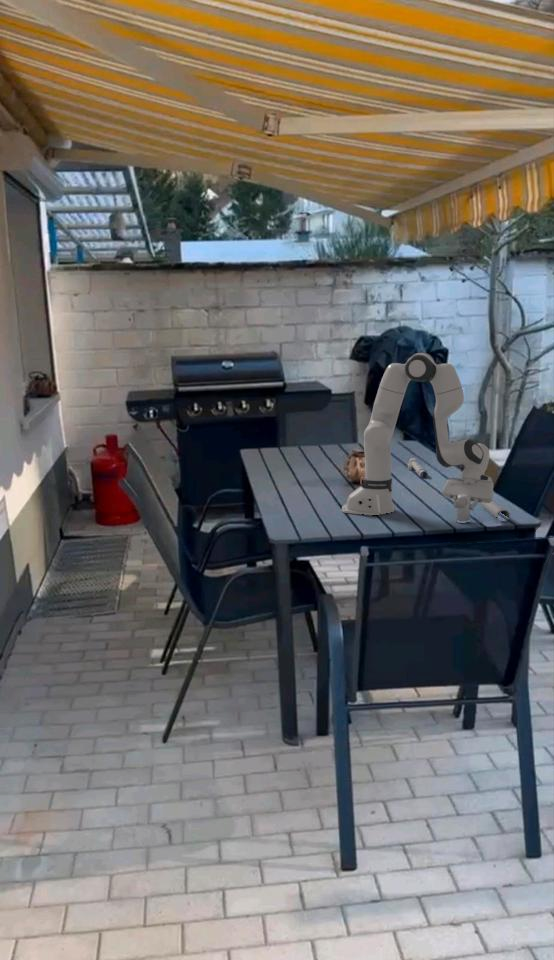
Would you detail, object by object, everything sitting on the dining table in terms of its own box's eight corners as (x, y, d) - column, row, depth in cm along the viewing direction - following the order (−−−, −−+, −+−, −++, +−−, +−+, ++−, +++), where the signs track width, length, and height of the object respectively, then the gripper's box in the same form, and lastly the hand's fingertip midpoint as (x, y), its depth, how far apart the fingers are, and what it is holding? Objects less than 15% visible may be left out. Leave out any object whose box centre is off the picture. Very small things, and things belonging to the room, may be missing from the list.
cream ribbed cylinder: (419, 471, 396) (406, 455, 419) (418, 483, 398) (406, 467, 421) (429, 470, 396) (416, 455, 419) (428, 483, 398) (415, 466, 422)
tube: (477, 498, 339) (495, 512, 315) (488, 494, 339) (508, 508, 315) (480, 509, 340) (499, 524, 316) (492, 505, 340) (511, 520, 316)
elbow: (458, 519, 320) (459, 493, 318) (471, 521, 317) (473, 494, 315) (452, 524, 314) (453, 497, 311) (465, 525, 311) (466, 499, 308)
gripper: (445, 473, 324) (436, 501, 318) (494, 478, 313) (486, 507, 307) (449, 481, 328) (440, 509, 322) (497, 486, 318) (489, 515, 312)
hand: (463, 508), depth 315 cm, fingers closed on elbow, 5 cm apart
